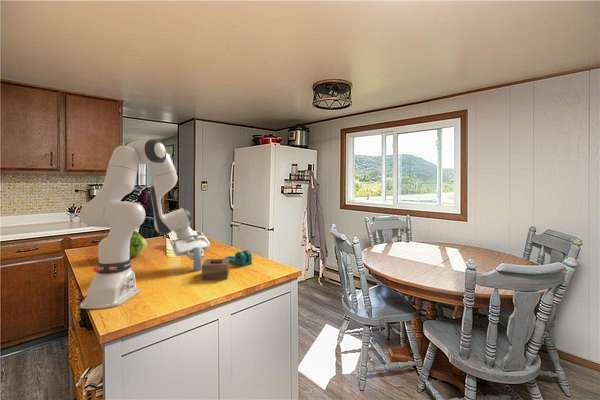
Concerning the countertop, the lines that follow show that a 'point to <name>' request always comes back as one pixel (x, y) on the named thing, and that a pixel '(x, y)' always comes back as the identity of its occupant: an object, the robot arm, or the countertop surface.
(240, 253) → the teal elongated piece
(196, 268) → the blue dowel
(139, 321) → the countertop surface
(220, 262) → the brown toaster
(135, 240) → the lettuce
